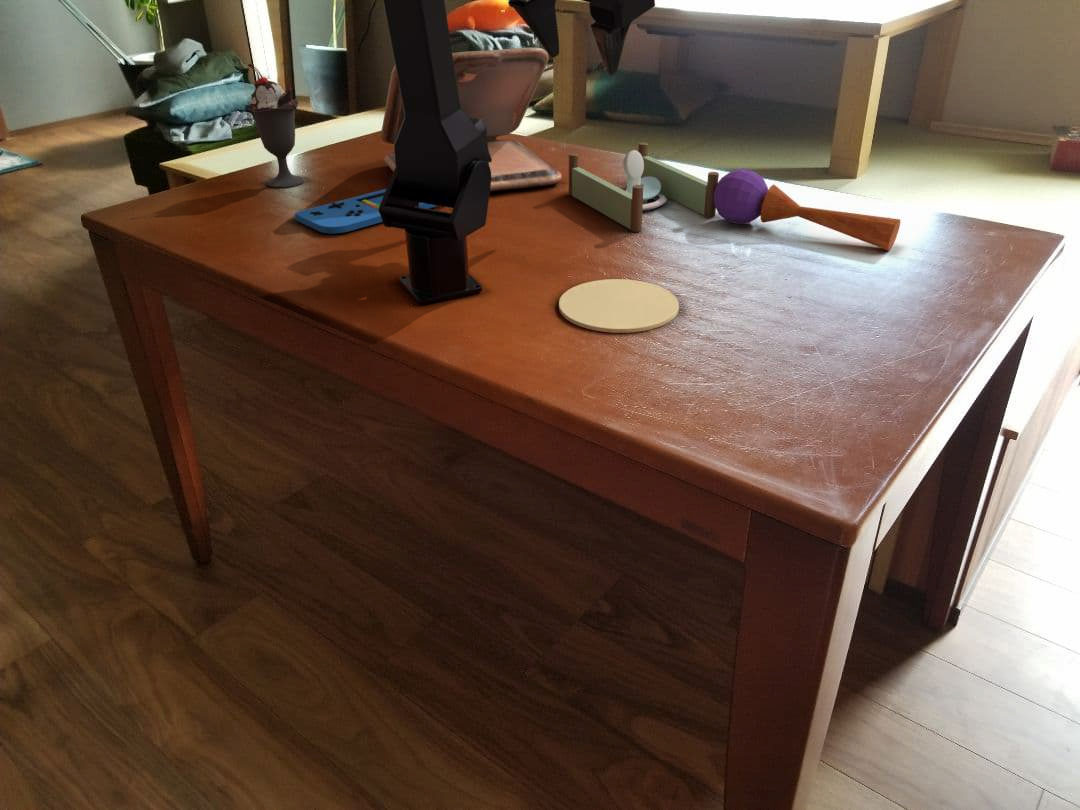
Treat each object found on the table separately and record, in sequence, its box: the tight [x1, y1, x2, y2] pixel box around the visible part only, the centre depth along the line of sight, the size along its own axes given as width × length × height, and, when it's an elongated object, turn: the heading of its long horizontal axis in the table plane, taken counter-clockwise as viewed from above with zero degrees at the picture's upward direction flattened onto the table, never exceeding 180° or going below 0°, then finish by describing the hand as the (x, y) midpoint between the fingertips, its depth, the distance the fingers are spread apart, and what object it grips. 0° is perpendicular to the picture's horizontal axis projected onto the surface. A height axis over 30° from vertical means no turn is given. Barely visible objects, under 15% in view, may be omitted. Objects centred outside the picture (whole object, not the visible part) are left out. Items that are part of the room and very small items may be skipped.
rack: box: [568, 141, 720, 233], centre depth 103 cm, size 16×11×5 cm
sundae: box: [244, 62, 306, 189], centre depth 112 cm, size 7×7×15 cm
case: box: [380, 47, 563, 193], centre depth 113 cm, size 20×21×16 cm
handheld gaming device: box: [294, 188, 437, 235], centre depth 103 cm, size 8×1×15 cm
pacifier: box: [622, 149, 668, 211], centre depth 103 cm, size 7×6×6 cm
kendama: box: [714, 168, 901, 252], centre depth 94 cm, size 6×6×20 cm
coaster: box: [558, 278, 680, 334], centre depth 80 cm, size 11×11×1 cm
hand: (583, 64), depth 100 cm, fingers open, 9 cm apart
